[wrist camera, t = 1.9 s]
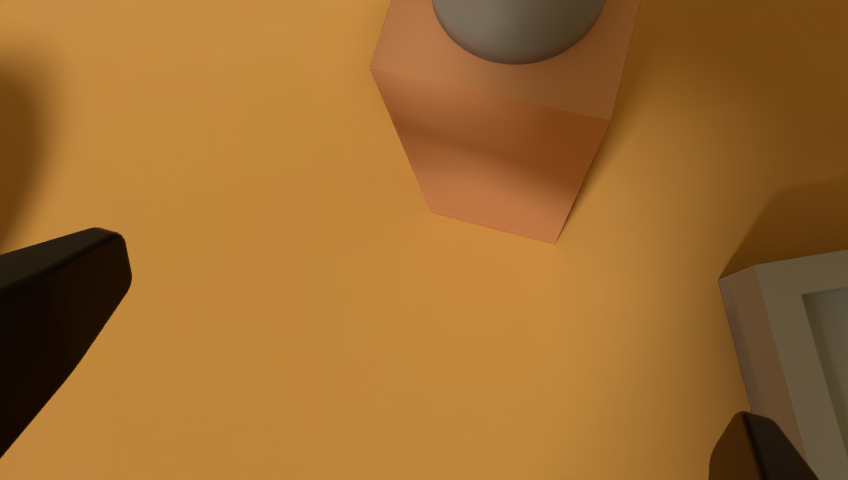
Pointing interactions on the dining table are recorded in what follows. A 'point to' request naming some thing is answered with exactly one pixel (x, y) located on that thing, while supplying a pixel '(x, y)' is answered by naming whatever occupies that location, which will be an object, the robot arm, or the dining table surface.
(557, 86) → the block
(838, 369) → the tray
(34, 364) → the robot arm
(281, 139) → the dining table surface
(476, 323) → the dining table surface
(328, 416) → the dining table surface
